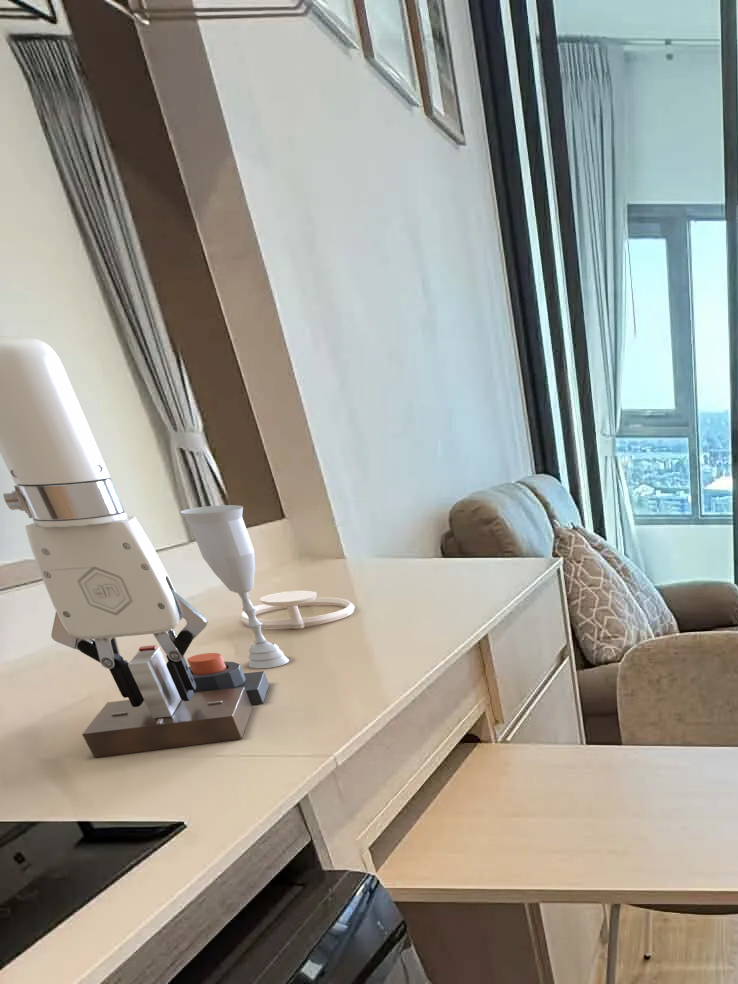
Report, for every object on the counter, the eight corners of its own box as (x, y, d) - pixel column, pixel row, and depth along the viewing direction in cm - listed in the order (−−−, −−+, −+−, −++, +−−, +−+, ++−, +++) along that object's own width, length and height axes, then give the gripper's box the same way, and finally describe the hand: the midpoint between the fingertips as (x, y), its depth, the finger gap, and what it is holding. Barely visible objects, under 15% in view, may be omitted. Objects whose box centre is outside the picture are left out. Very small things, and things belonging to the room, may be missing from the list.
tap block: (94, 758, 88) (80, 732, 86) (118, 724, 96) (106, 700, 94) (241, 739, 91) (231, 714, 90) (252, 708, 99) (243, 685, 98)
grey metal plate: (171, 716, 90) (146, 659, 86) (152, 718, 89) (126, 662, 86) (182, 698, 95) (158, 644, 91) (164, 700, 94) (139, 646, 90)
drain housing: (169, 714, 98) (155, 683, 96) (181, 694, 104) (168, 665, 102) (263, 703, 101) (251, 673, 99) (269, 684, 107) (258, 655, 104)
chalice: (281, 670, 112) (224, 513, 100) (230, 671, 112) (168, 514, 100) (305, 655, 117) (253, 504, 106) (256, 655, 117) (200, 505, 106)
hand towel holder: (346, 572, 141) (349, 596, 126) (354, 600, 144) (358, 627, 129) (234, 581, 136) (223, 607, 121) (245, 611, 139) (236, 640, 124)
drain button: (191, 678, 99) (184, 662, 98) (196, 670, 101) (189, 654, 100) (225, 674, 100) (219, 659, 98) (229, 666, 102) (223, 651, 101)
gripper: (-45, 515, 75) (66, 721, 86) (166, 502, 79) (245, 700, 91) (-16, 505, 81) (84, 700, 92) (180, 493, 85) (252, 681, 96)
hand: (163, 698), depth 91 cm, fingers open, 4 cm apart
